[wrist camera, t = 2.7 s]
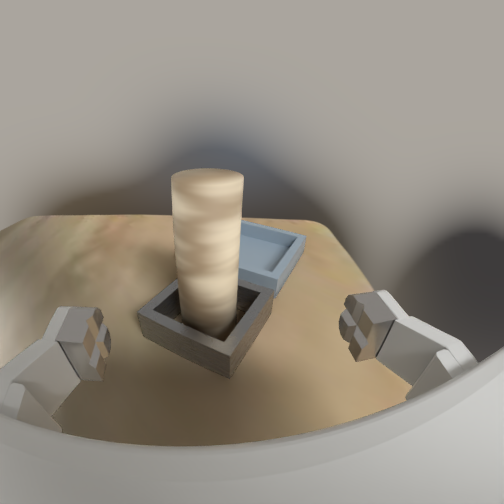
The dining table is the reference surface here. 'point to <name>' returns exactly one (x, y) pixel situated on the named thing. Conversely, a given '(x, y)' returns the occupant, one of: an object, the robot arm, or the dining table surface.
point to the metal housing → (197, 343)
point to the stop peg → (207, 247)
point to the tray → (268, 254)
